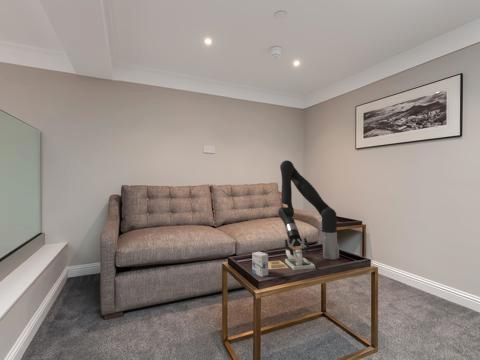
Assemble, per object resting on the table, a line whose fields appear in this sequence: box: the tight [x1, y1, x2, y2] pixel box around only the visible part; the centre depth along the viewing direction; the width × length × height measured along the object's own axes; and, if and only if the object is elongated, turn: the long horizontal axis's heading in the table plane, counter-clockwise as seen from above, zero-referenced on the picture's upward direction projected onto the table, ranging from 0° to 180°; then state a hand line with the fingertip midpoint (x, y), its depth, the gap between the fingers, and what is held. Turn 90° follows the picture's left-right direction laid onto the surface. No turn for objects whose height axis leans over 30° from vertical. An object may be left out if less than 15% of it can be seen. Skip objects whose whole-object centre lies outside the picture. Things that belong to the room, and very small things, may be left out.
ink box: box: [251, 251, 269, 278], centre depth 137 cm, size 9×5×12 cm, turn 35°
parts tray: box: [284, 257, 316, 271], centre depth 150 cm, size 13×17×2 cm
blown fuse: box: [295, 249, 304, 266], centre depth 150 cm, size 4×4×9 cm
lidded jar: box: [285, 245, 303, 259], centre depth 165 cm, size 11×11×9 cm
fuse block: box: [268, 260, 289, 270], centre depth 150 cm, size 12×12×2 cm
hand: (299, 254), depth 149 cm, fingers open, 8 cm apart
